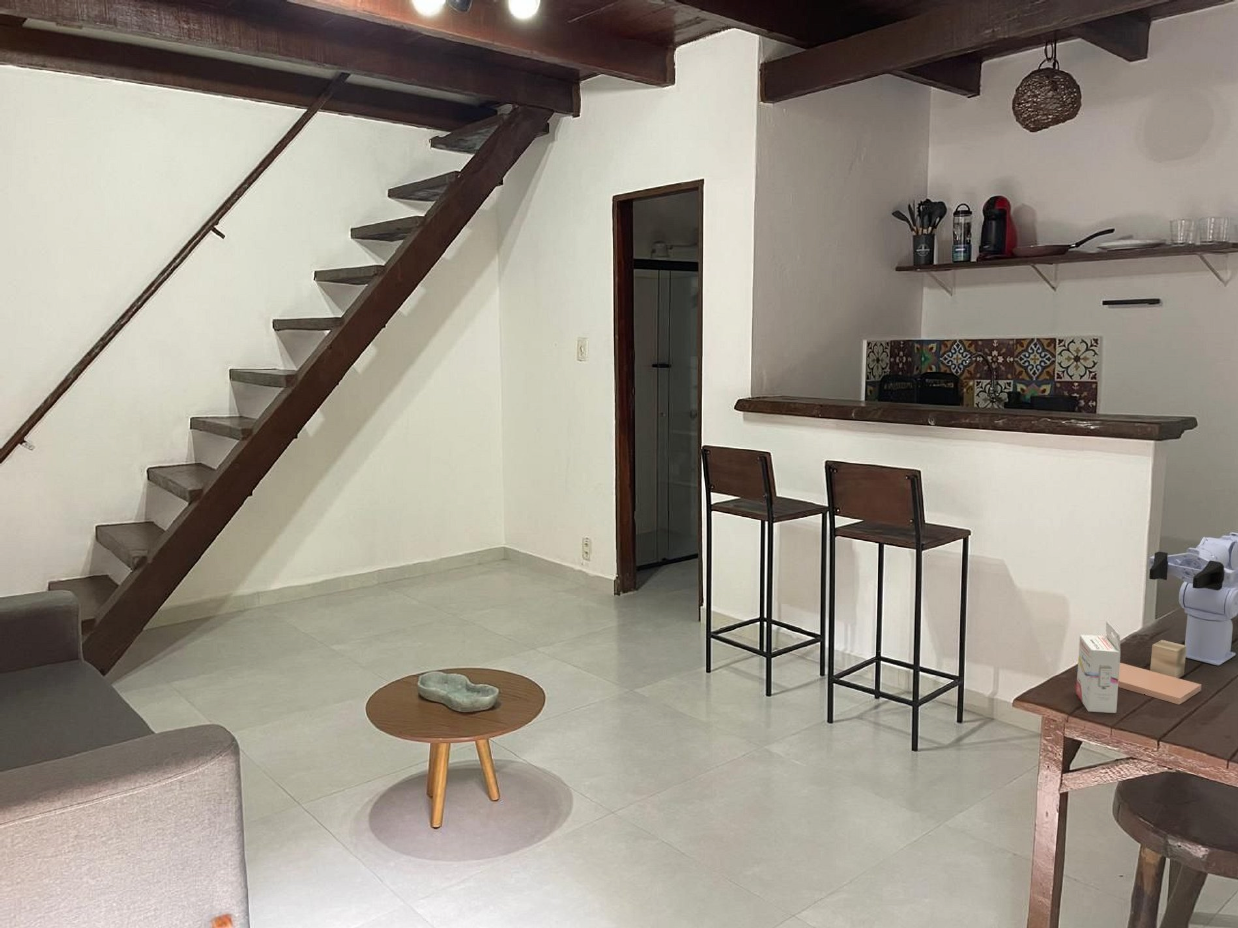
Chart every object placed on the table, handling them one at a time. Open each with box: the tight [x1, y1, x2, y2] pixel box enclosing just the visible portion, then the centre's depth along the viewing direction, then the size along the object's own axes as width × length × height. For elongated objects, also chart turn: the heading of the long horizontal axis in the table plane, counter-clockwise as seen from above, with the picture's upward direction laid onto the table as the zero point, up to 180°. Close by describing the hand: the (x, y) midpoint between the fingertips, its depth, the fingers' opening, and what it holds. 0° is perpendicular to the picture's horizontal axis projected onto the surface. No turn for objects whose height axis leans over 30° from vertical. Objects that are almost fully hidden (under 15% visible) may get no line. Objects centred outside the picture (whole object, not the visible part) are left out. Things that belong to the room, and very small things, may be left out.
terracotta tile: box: [1118, 662, 1202, 705], centre depth 178 cm, size 10×15×1 cm, turn 39°
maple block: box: [1149, 639, 1187, 679], centre depth 183 cm, size 4×4×6 cm
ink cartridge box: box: [1075, 620, 1121, 714], centre depth 169 cm, size 9×5×15 cm, turn 168°
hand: (1172, 578), depth 178 cm, fingers open, 7 cm apart
